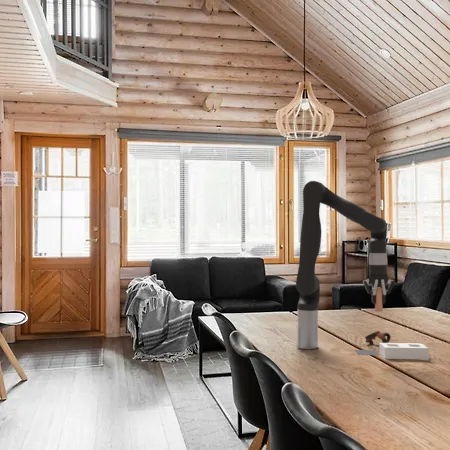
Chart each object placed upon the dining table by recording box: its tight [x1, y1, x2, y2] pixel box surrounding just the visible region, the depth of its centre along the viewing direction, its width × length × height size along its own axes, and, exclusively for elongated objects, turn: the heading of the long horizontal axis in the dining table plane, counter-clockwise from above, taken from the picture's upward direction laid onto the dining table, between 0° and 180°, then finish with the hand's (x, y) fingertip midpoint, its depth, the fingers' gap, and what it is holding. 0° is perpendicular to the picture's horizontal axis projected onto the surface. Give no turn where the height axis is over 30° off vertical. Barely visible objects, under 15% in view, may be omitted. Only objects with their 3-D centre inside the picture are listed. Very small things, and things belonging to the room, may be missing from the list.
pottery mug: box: [364, 330, 392, 345], centre depth 250 cm, size 12×10×8 cm
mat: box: [354, 349, 380, 356], centre depth 236 cm, size 9×9×1 cm
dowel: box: [374, 287, 383, 312], centre depth 234 cm, size 3×3×10 cm
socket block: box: [378, 342, 430, 361], centre depth 230 cm, size 18×9×5 cm, turn 88°
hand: (378, 303), depth 234 cm, fingers closed on dowel, 3 cm apart
